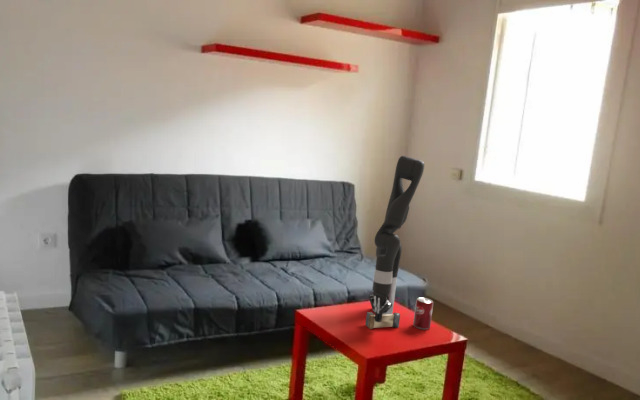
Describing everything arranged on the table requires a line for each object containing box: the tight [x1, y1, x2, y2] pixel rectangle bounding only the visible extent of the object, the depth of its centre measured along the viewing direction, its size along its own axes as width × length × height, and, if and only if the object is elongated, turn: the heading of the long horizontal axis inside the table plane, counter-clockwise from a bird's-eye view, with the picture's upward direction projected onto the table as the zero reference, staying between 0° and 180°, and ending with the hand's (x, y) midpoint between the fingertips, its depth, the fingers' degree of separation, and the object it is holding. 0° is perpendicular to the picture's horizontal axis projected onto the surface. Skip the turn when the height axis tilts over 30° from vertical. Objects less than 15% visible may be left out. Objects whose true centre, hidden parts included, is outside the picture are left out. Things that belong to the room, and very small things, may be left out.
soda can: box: [412, 297, 434, 331], centre depth 243 cm, size 7×7×12 cm
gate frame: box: [365, 311, 401, 329], centre depth 239 cm, size 3×14×6 cm, turn 101°
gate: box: [367, 313, 394, 330], centre depth 237 cm, size 11×2×5 cm, turn 115°
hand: (377, 321), depth 233 cm, fingers closed
